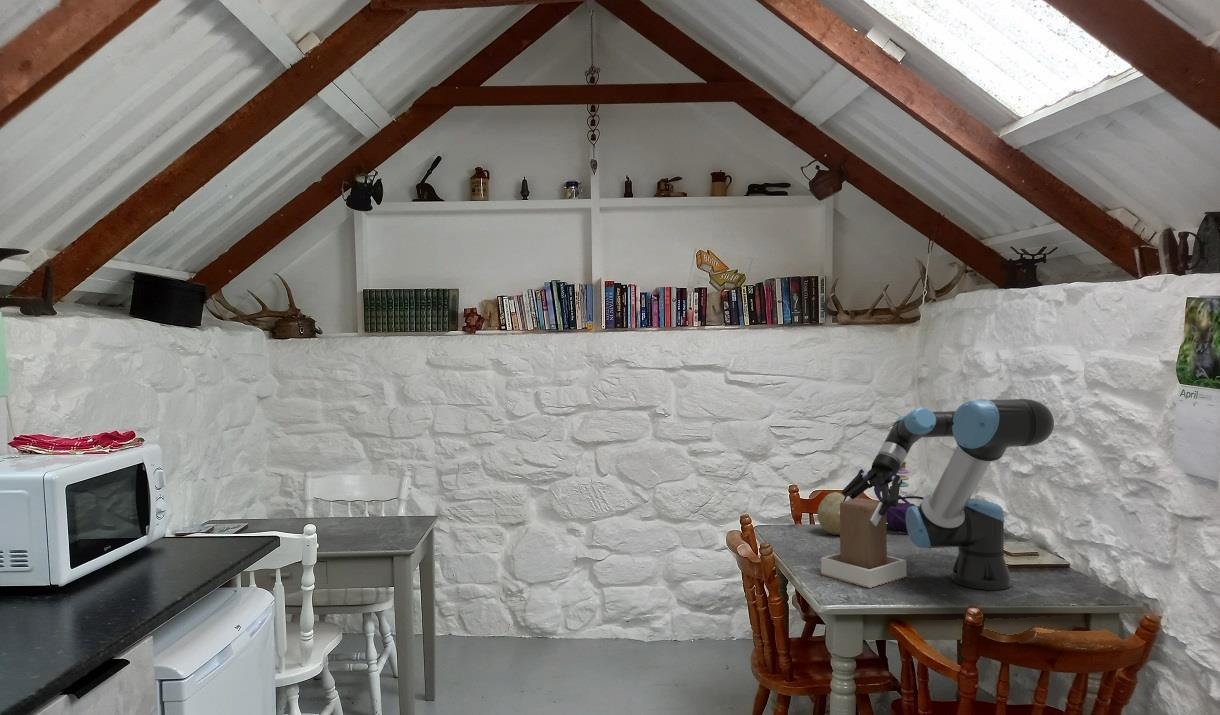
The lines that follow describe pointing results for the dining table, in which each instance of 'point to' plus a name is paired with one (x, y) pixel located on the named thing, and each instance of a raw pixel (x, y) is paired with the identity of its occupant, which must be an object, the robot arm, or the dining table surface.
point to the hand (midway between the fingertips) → (856, 519)
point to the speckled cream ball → (830, 513)
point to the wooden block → (862, 534)
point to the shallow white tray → (863, 571)
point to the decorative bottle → (898, 505)
